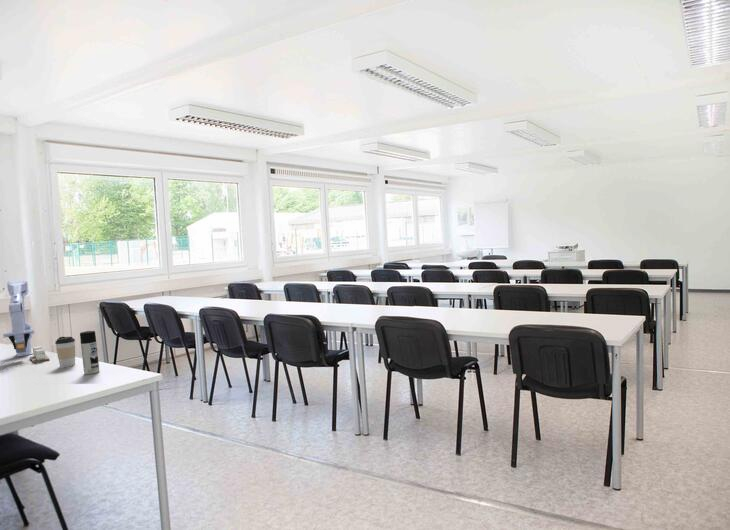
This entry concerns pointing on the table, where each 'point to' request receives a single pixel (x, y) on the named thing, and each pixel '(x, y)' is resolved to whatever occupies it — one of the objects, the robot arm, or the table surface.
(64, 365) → the coffee cup
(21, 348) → the block
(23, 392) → the table surface
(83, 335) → the spray can
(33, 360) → the cream blocky elongated piece
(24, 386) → the table surface
